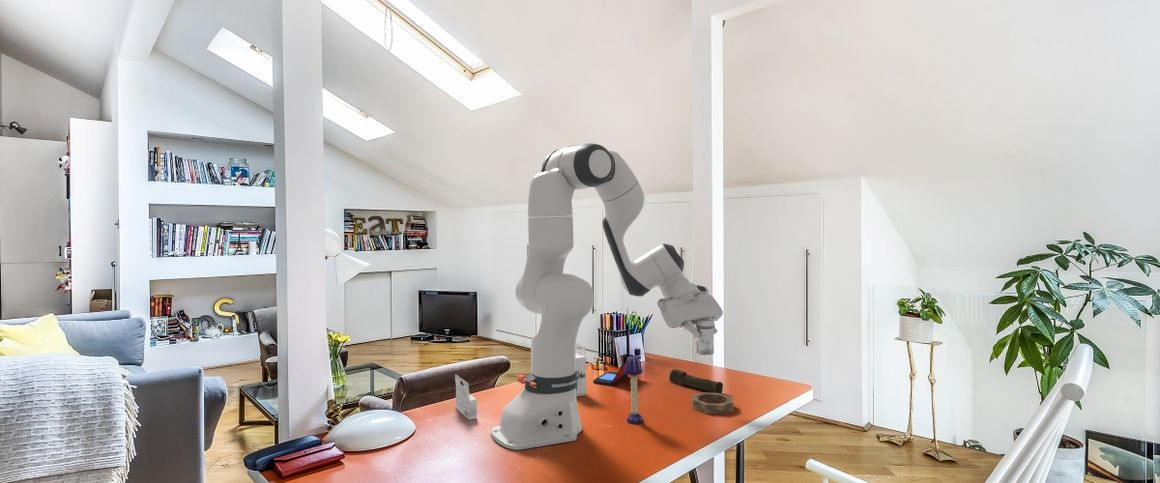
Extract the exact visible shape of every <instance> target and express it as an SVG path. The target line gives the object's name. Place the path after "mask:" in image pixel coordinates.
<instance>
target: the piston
mask: <svg viewBox="0 0 1160 483" xmlns="http://www.w3.org/2000/svg"><path fill="white" fill-rule="evenodd" d="M714 324H715V321H712V320H705V319H702V320H696V324H695V328H696V329H700V332H702V335H701V336H700V337H697V338H695V340H696V341H695V345H696V346H695V348H696V349H695V352H696V354H697V355H702V356H711V355H714V354H715V345H714V344H715V337H714V336H715V334H714Z"/></svg>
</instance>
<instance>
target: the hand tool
mask: <svg viewBox="0 0 1160 483" xmlns="http://www.w3.org/2000/svg"><path fill="white" fill-rule="evenodd" d="M668 378H669V382H670V383H672V384H674V385H678V386H680V387H683V386H687V387H692V388H694V389H699V390H702V391H705V392H707V393H720V394H723V393H722V392H723V388H724V387H723V386H724V384H723V383H722V382H721V381H714V380H711V379H707V378H701V377H698V376H694V375H691V374H690V375H689V374H687V371H682V370H679V369H675V368H673V369H672V370H671V371H670V374H669V377H668Z"/></svg>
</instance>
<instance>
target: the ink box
mask: <svg viewBox="0 0 1160 483" xmlns="http://www.w3.org/2000/svg"><path fill="white" fill-rule="evenodd" d="M586 355H587V350H586V346H585V345H583V344H580V343H579V342H576V355H575V371H576V372H577V391H576V398H578V397H581V396H586V395H587V358H586Z"/></svg>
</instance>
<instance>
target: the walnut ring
mask: <svg viewBox="0 0 1160 483" xmlns="http://www.w3.org/2000/svg"><path fill="white" fill-rule="evenodd" d="M733 400H734V399H733V397H732V396H729V395H725V394H723V393H721V394H720V393H712V392H707V391H705V392H704V391H703V392H699V393H696V394H692V409H693V410H695V411H697V412H701V413H702V414H711V415H712V414H713V415H725V414H728V413H731V412H732V413H733V412H734V401H733Z"/></svg>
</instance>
